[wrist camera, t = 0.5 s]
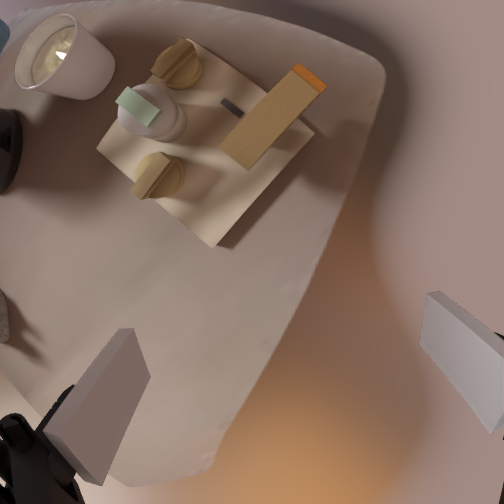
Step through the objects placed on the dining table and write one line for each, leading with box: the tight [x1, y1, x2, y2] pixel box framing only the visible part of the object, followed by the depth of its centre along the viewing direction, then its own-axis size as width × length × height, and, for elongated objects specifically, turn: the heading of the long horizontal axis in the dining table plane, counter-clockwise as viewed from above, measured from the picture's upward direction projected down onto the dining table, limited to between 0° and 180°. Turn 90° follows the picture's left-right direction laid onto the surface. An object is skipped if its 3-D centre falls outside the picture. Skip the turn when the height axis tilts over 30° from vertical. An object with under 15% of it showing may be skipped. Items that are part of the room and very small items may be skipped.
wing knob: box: [218, 63, 327, 172], centre depth 25 cm, size 3×10×10 cm, turn 139°
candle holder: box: [14, 13, 115, 100], centre depth 24 cm, size 10×10×12 cm
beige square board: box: [96, 37, 315, 249], centre depth 27 cm, size 20×18×11 cm
